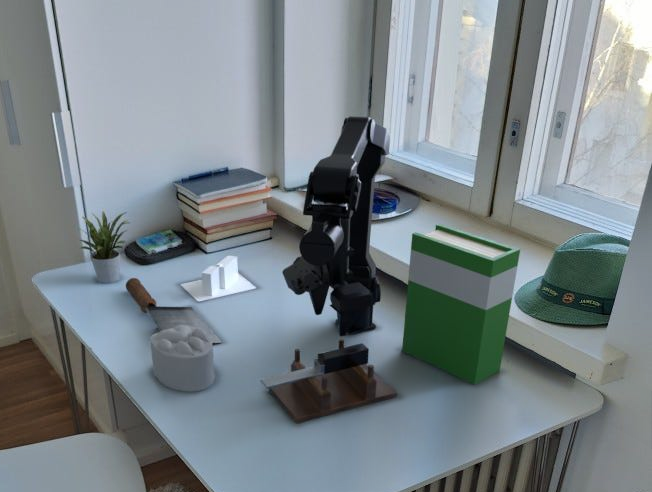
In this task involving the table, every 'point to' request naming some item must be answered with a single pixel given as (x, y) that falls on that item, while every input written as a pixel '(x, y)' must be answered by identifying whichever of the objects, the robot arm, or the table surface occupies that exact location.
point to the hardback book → (459, 301)
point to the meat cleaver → (166, 311)
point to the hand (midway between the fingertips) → (330, 325)
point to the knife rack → (331, 391)
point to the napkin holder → (219, 281)
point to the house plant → (105, 249)
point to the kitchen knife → (323, 365)
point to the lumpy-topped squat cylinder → (183, 358)
